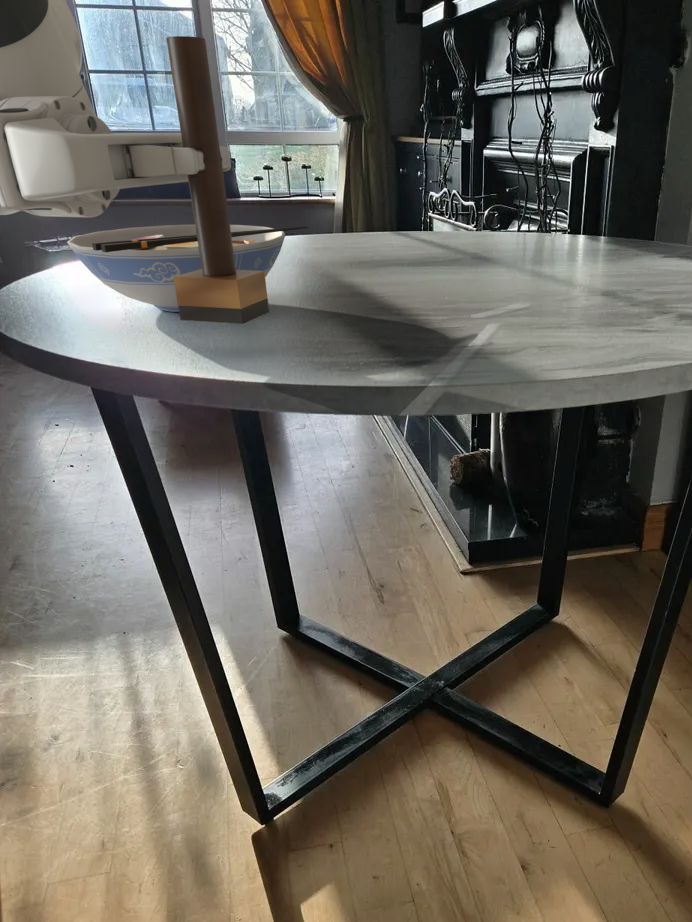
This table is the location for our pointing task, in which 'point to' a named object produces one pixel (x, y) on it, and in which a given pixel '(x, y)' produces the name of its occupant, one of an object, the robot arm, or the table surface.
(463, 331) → the table surface
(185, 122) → the brush
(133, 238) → the ramen bowl
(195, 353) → the table surface
